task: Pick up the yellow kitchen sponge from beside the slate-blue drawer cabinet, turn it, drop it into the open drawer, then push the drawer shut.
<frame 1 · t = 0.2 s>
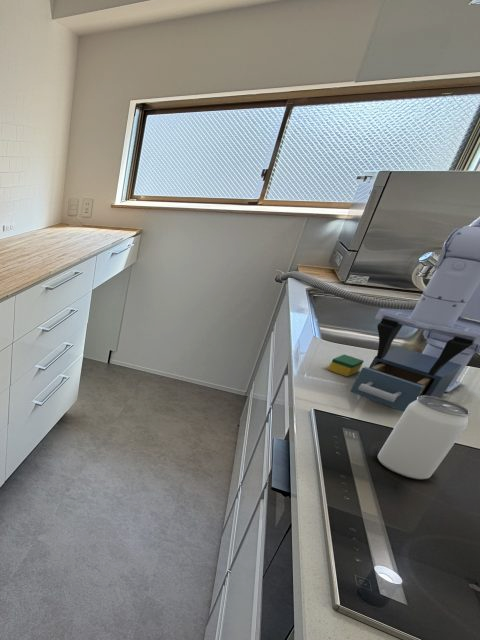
hand: (405, 365, 80), 10 cm above the table, tool pointing down, fingers open, 7 cm apart
cabinet: (399, 391, 91), on the table
sponge: (342, 370, 100), on the table
can: (401, 468, 67), on the table
drawer: (390, 386, 85), point 4 cm above the table, slide at 6.0 cm
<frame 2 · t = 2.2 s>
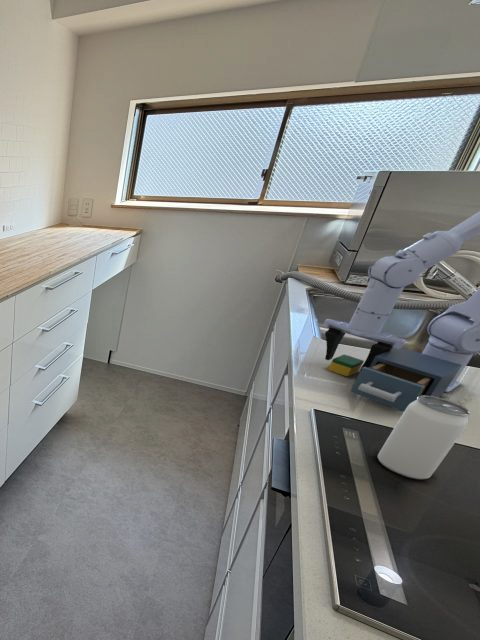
hand: (345, 364, 99), 2 cm above the table, tool pointing down, fingers open, 6 cm apart
nothing on the table moved.
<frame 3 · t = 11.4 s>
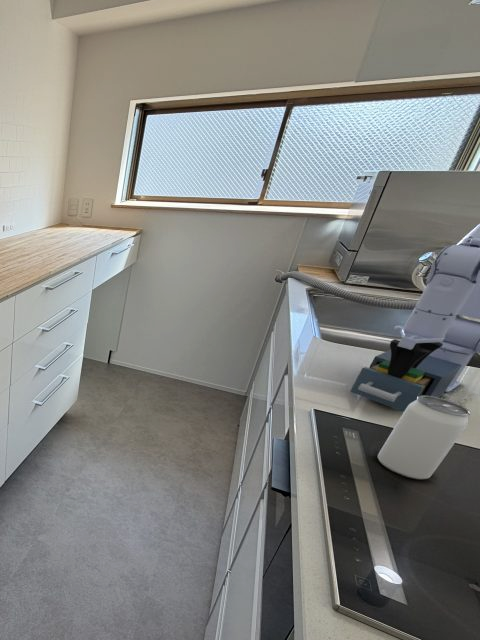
hand: (398, 374, 84), 6 cm above the table, tool pointing down, fingers closed on sponge, 4 cm apart
sponge: (394, 380, 85), point 5 cm above the table, touching gripper
everything else where it was.
when the fingers open (10 cm above the table, at t = 24.9 s): sponge drops 6 cm, resting on drawer.
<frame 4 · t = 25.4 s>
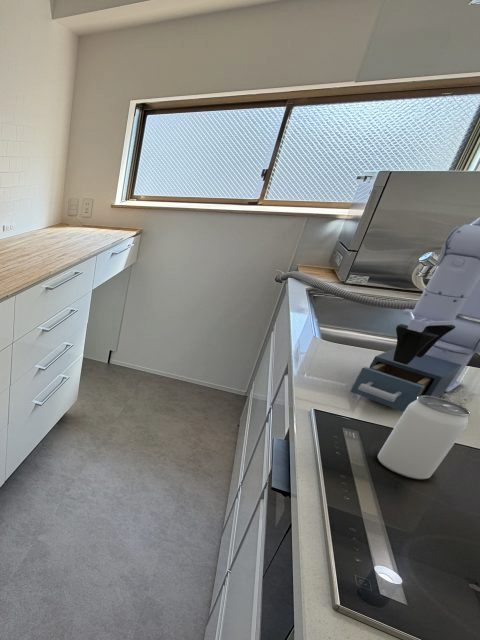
hand: (407, 358, 83), 10 cm above the table, tool pointing down, fingers open, 7 cm apart
sponge: (387, 392, 86), point 2 cm above the table, touching drawer
drawer: (390, 386, 85), point 4 cm above the table, slide at 6.0 cm, touching sponge
everything else where it was.
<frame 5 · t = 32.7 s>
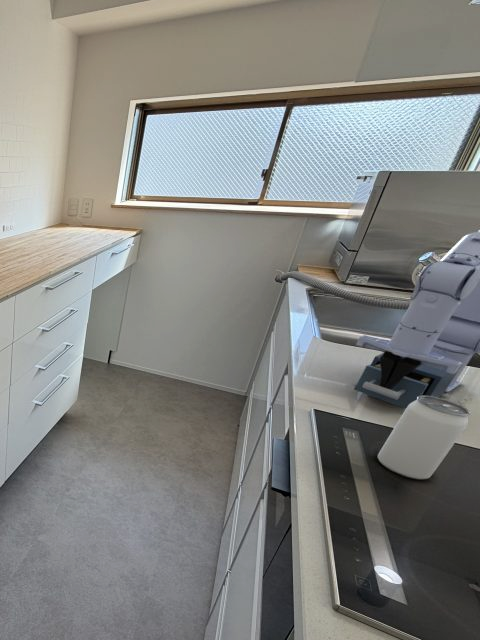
hand: (384, 389, 84), 4 cm above the table, tool pointing down, fingers closed, pressing on drawer
sponge: (391, 390, 87), point 2 cm above the table, touching drawer
drawer: (394, 384, 86), point 4 cm above the table, slide at 4.0 cm, touching gripper, sponge
everything else where it was.
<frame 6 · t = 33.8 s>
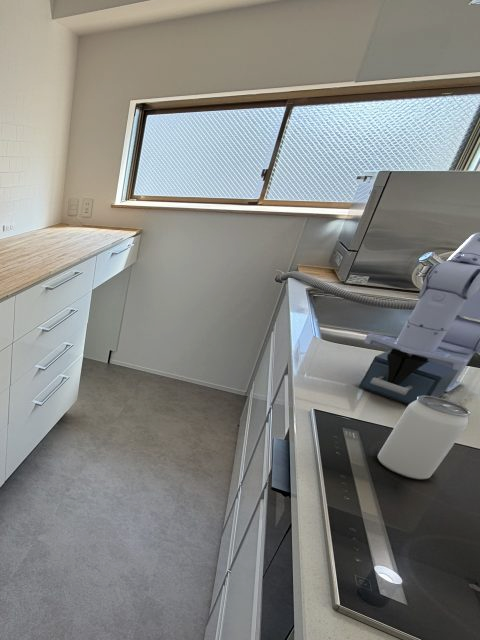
hand: (391, 386, 86), 3 cm above the table, tool pointing down, fingers closed, pressing on drawer
sponge: (398, 386, 89), point 2 cm above the table, touching drawer
drawer: (401, 380, 88), point 4 cm above the table, slide at 0.0 cm, touching cabinet, gripper, sponge
everything else where it was.
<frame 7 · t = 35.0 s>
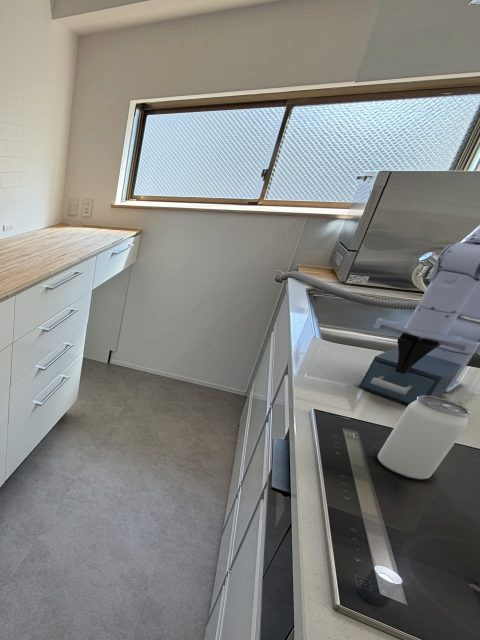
hand: (401, 371, 85), 7 cm above the table, tool pointing down, fingers closed
drawer: (401, 380, 88), point 4 cm above the table, slide at 0.0 cm, touching cabinet, sponge
everything else where it was.
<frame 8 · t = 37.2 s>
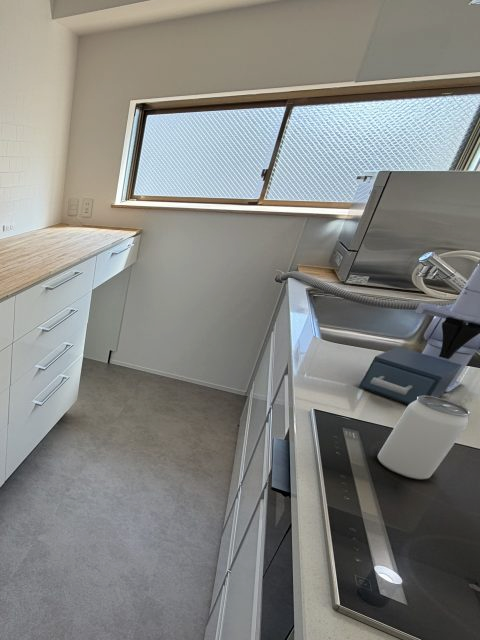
hand: (444, 357, 83), 10 cm above the table, tool pointing down, fingers closed
nothing on the table moved.
at the end: sponge inside the target area in the cabinet (2.8 cm from its centre), point 2.0 cm above the cabinet's base; drawer slide at 0.0 cm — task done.
